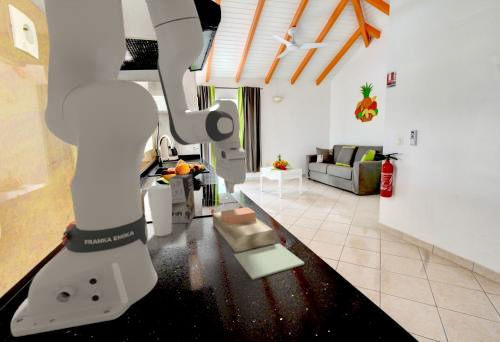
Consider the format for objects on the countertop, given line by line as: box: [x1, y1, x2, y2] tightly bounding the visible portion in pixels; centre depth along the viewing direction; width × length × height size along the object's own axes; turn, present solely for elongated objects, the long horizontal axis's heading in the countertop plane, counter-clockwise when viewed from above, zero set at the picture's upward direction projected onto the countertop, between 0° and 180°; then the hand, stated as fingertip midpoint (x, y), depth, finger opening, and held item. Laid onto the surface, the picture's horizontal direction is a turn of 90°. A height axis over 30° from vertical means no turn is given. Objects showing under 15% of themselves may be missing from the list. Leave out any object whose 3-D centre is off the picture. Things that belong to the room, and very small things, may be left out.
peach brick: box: [220, 206, 257, 225], centre depth 73 cm, size 9×6×2 cm, turn 114°
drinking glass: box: [147, 184, 173, 237], centre depth 73 cm, size 7×7×15 cm
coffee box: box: [168, 173, 196, 224], centre depth 86 cm, size 9×6×16 cm
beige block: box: [212, 211, 274, 253], centre depth 72 cm, size 11×22×4 cm, turn 24°
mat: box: [233, 243, 305, 280], centre depth 56 cm, size 13×11×1 cm
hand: (230, 192), depth 80 cm, fingers closed
